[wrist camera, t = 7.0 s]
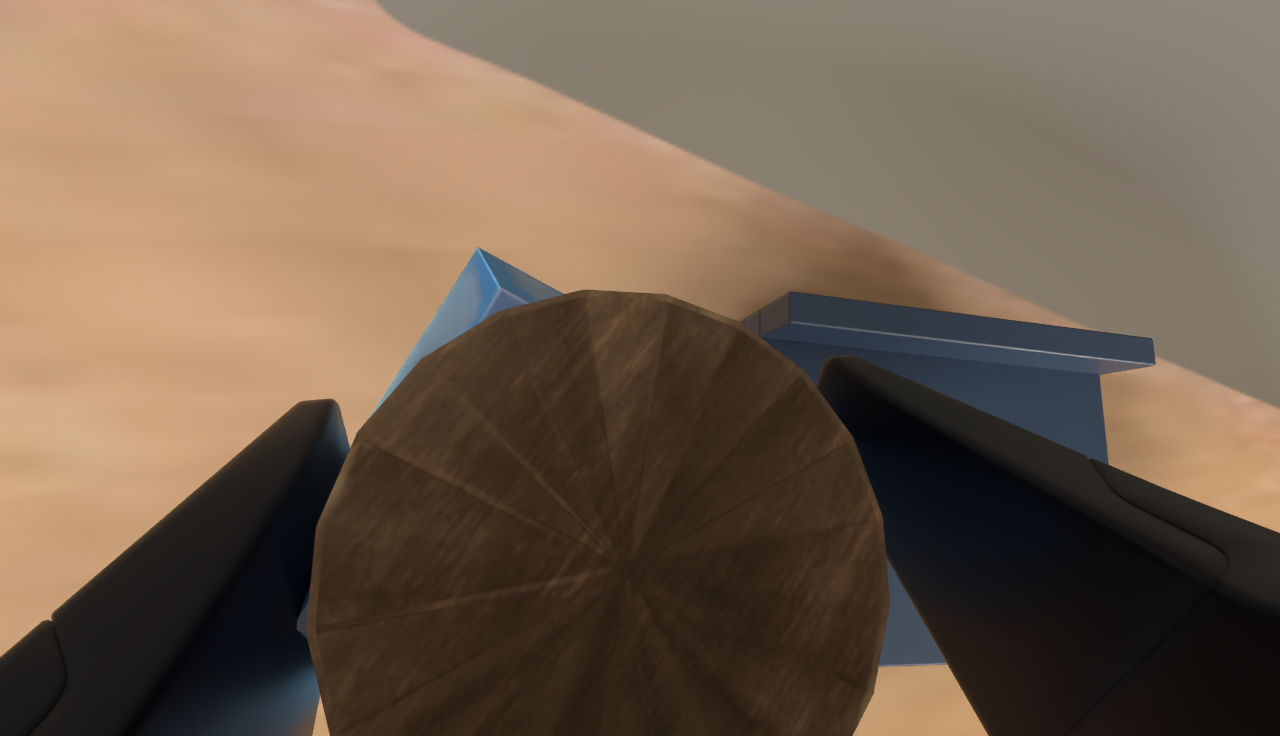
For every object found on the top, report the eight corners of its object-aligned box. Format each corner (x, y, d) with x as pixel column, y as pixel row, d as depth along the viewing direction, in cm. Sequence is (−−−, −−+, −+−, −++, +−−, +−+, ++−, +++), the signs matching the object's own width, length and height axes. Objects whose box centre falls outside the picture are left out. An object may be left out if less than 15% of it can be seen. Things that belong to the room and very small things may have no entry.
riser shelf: (1019, 627, 25) (1196, 677, 19) (703, 632, 22) (791, 695, 15) (1000, 369, 27) (1153, 337, 21) (710, 338, 24) (789, 290, 17)
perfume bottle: (596, 684, 14) (926, 1542, 3) (358, 568, 14) (-513, 999, 2) (703, 452, 16) (1195, 352, 4) (494, 341, 15) (415, -111, 4)
